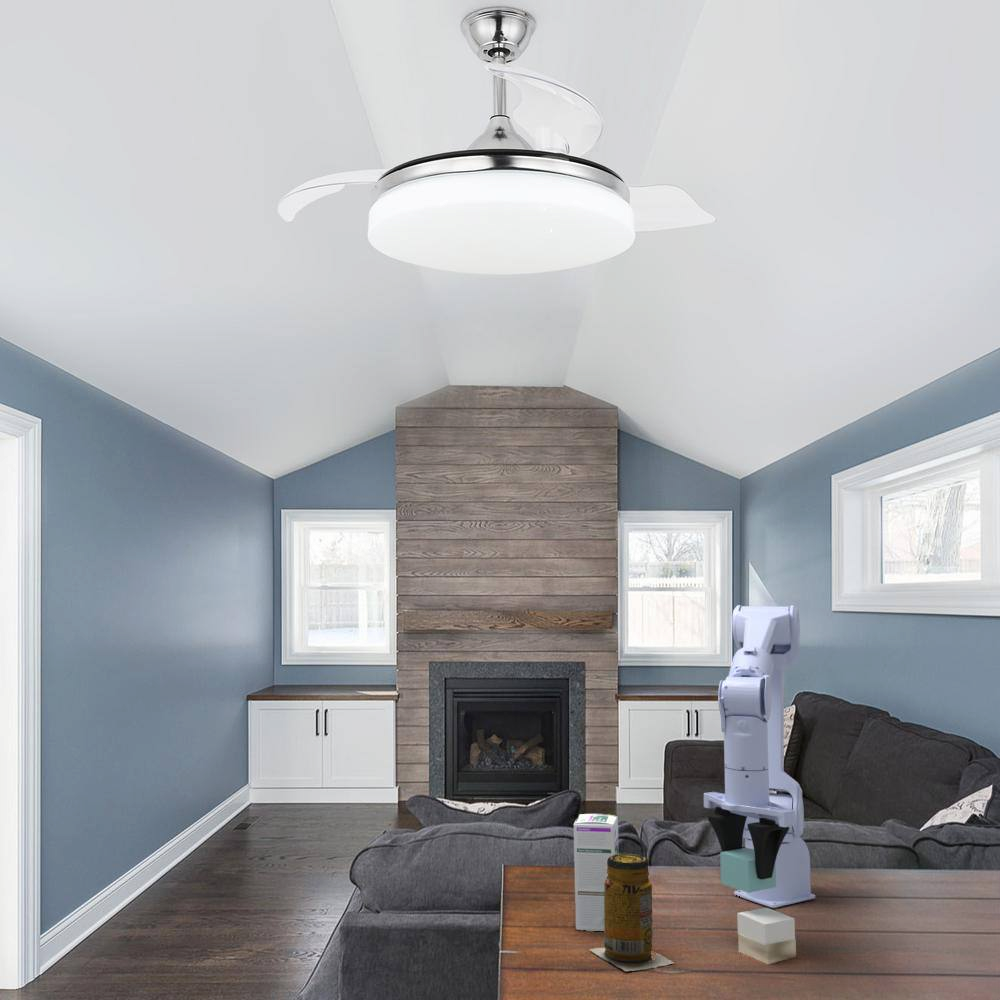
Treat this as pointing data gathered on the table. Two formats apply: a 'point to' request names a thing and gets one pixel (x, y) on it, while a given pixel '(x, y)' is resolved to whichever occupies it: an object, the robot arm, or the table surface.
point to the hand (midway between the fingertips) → (748, 872)
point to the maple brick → (767, 949)
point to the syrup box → (592, 866)
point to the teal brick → (743, 871)
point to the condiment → (628, 915)
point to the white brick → (766, 926)
